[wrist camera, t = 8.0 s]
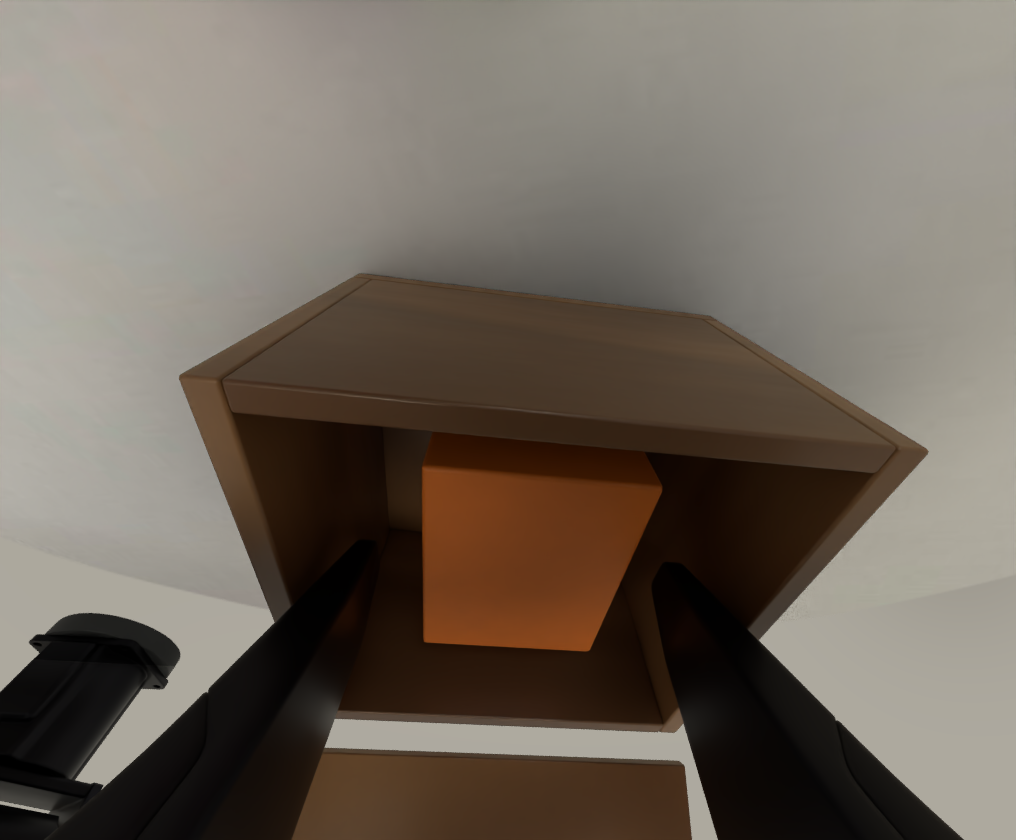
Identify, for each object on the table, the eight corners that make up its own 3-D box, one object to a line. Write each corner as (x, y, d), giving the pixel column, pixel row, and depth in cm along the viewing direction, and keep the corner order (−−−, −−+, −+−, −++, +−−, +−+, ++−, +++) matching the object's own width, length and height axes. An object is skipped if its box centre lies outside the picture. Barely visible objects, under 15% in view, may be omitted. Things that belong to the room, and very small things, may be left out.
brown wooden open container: (616, 545, 16) (675, 733, 10) (381, 527, 15) (311, 718, 10) (711, 315, 11) (933, 450, 5) (358, 272, 10) (175, 374, 4)
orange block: (564, 514, 14) (590, 653, 10) (447, 505, 14) (422, 644, 10) (604, 374, 11) (665, 488, 7) (454, 357, 11) (420, 466, 6)
